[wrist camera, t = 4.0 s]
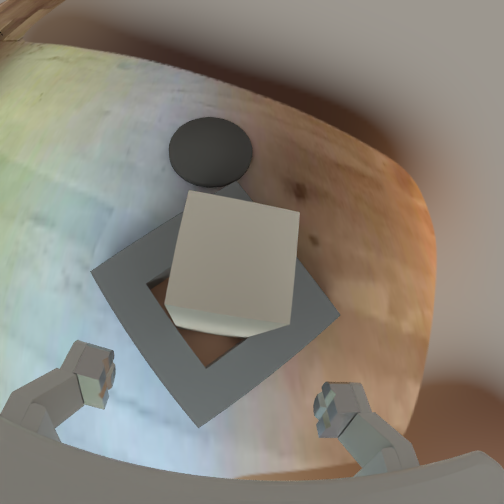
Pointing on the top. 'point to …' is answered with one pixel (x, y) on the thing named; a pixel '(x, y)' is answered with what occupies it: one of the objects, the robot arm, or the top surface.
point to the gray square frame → (196, 343)
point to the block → (232, 267)
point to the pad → (210, 152)
